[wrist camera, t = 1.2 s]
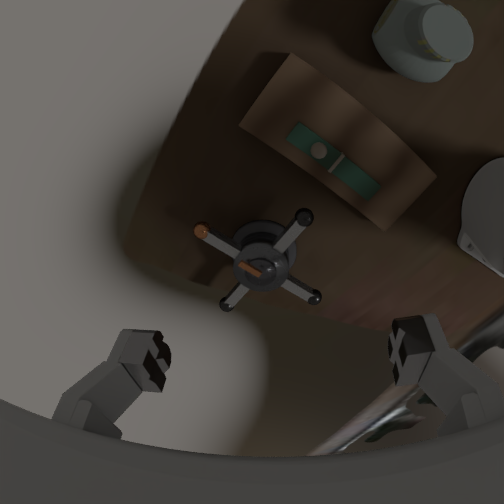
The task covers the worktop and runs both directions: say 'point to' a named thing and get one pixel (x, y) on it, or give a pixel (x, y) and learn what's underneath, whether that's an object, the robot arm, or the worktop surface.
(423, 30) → the air freshener
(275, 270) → the capstan
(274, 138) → the level stand
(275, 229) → the pedestal
